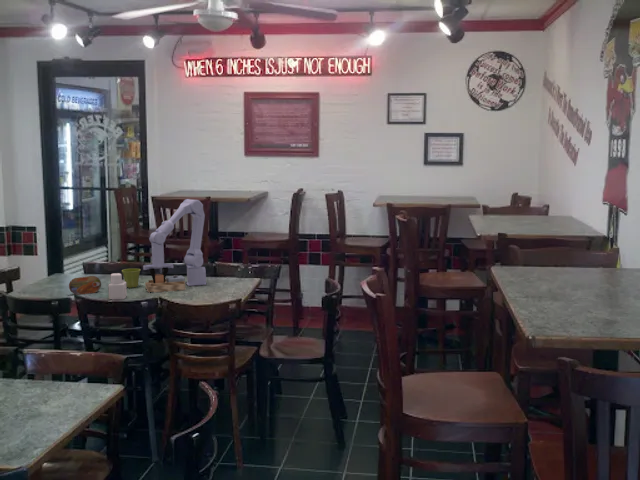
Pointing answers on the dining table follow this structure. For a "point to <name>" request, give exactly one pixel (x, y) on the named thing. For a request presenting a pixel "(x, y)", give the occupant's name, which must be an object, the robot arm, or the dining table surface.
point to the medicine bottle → (117, 286)
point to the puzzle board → (164, 286)
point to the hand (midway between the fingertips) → (159, 282)
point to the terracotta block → (159, 278)
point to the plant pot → (131, 277)
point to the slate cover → (175, 278)
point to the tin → (84, 285)
